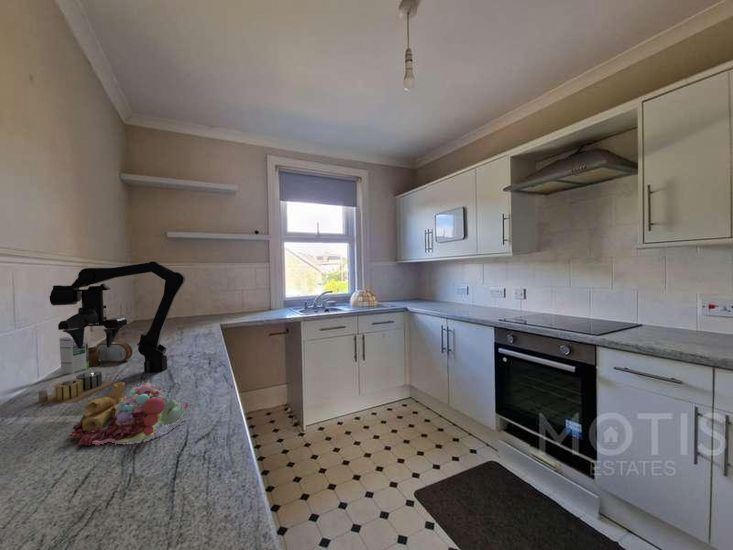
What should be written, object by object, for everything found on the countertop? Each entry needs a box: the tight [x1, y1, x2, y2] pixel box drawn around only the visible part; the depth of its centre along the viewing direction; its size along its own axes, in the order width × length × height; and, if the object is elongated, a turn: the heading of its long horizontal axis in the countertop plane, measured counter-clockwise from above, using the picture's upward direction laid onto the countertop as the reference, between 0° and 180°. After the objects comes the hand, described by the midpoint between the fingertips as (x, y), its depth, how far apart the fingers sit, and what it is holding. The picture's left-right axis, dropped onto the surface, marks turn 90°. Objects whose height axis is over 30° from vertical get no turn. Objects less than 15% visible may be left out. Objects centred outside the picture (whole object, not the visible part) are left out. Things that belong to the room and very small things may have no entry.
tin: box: [96, 341, 133, 363], centre depth 133 cm, size 15×3×8 cm, turn 85°
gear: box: [75, 370, 103, 390], centre depth 101 cm, size 6×6×4 cm
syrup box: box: [58, 334, 90, 376], centre depth 117 cm, size 6×6×14 cm
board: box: [33, 379, 118, 405], centre depth 98 cm, size 12×16×6 cm
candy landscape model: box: [69, 381, 189, 447], centre depth 81 cm, size 25×24×9 cm
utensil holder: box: [88, 338, 100, 368], centre depth 127 cm, size 6×6×12 cm
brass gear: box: [53, 379, 83, 401], centre depth 94 cm, size 6×6×4 cm
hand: (94, 347), depth 109 cm, fingers open, 9 cm apart
